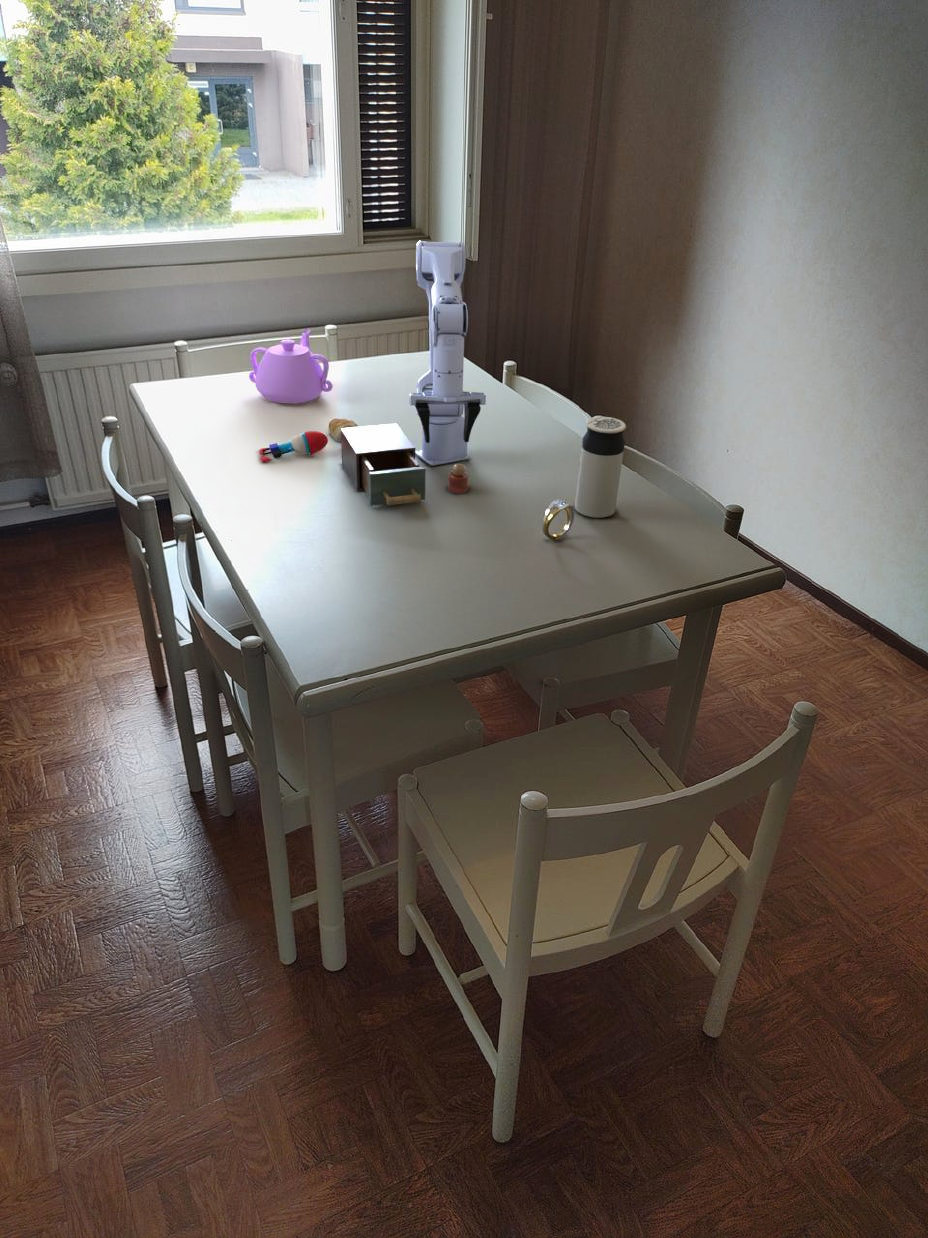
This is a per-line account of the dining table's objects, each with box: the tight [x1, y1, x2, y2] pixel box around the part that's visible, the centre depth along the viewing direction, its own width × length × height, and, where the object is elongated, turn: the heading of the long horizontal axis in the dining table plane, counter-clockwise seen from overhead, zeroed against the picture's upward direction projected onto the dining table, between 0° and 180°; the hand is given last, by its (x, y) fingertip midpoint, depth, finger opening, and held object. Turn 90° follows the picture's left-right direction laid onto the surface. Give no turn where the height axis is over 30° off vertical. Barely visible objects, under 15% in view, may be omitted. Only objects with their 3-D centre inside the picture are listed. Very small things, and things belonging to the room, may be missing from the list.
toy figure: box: [258, 430, 329, 463], centre depth 196 cm, size 8×5×15 cm
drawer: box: [359, 451, 426, 507], centre depth 179 cm, size 17×11×7 cm, turn 19°
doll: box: [447, 462, 469, 494], centre depth 184 cm, size 4×4×6 cm
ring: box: [541, 498, 575, 541], centre depth 167 cm, size 7×3×8 cm, turn 124°
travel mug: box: [574, 416, 627, 519], centre depth 175 cm, size 8×8×18 cm
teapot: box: [248, 328, 333, 404], centre depth 226 cm, size 22×22×14 cm
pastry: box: [328, 418, 360, 443], centre depth 207 cm, size 9×7×4 cm
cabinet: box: [340, 423, 416, 492], centre depth 188 cm, size 14×12×8 cm
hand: (446, 441), depth 177 cm, fingers open, 7 cm apart
